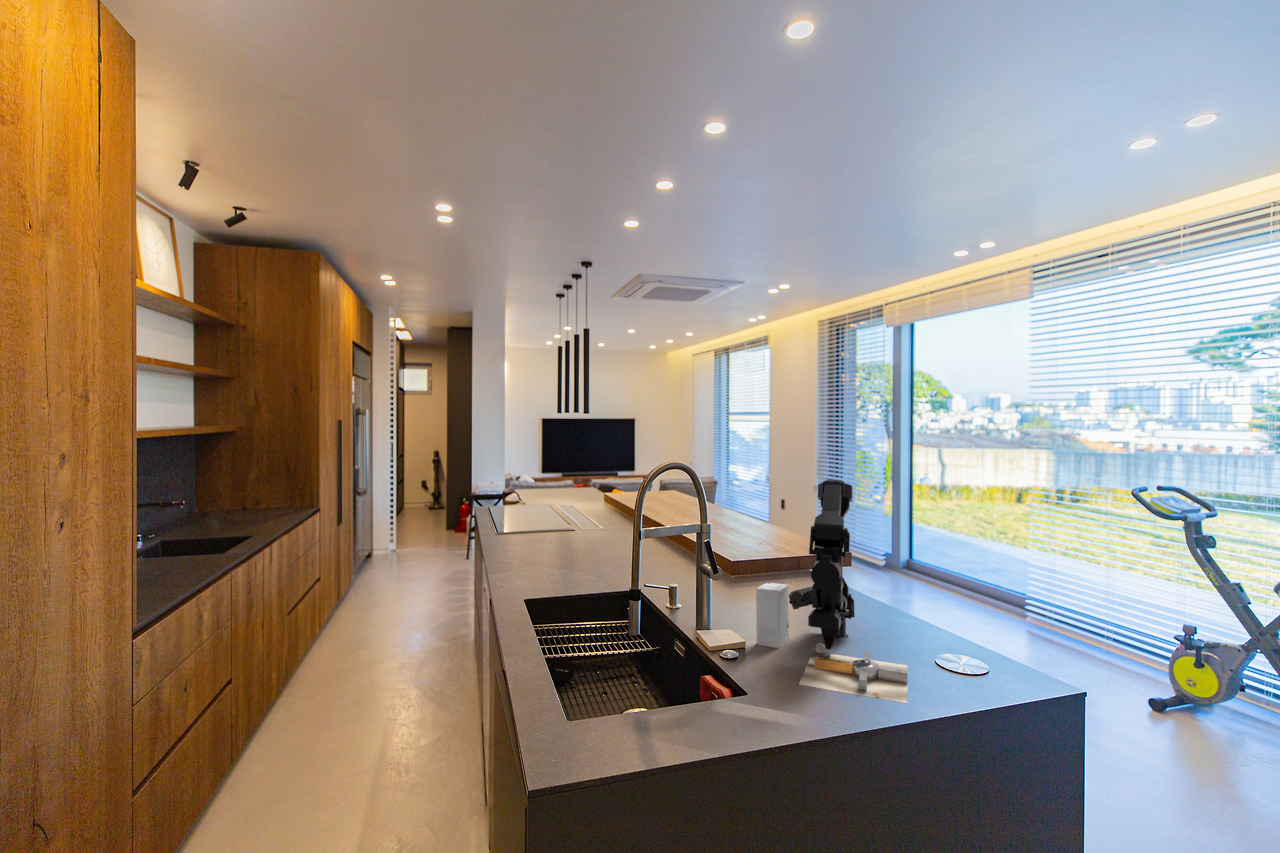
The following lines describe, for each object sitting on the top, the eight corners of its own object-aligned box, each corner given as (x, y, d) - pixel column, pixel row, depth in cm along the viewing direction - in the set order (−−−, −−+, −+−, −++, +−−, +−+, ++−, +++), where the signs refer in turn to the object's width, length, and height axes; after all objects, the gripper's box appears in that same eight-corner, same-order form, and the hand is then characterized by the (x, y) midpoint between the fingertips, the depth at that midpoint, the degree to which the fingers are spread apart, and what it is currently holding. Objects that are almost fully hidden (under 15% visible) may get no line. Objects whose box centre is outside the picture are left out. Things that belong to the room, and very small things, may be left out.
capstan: (819, 655, 136) (820, 641, 136) (907, 668, 129) (907, 654, 129) (809, 682, 121) (809, 666, 122) (907, 699, 114) (907, 682, 114)
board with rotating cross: (813, 657, 139) (813, 639, 139) (907, 672, 130) (907, 653, 130) (798, 691, 120) (798, 670, 120) (907, 711, 112) (907, 688, 112)
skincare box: (779, 654, 140) (780, 591, 140) (754, 650, 143) (755, 588, 143) (789, 643, 148) (789, 583, 148) (765, 639, 151) (766, 580, 151)
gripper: (798, 566, 144) (798, 630, 144) (784, 584, 127) (783, 657, 127) (847, 570, 140) (847, 637, 140) (838, 590, 123) (838, 666, 123)
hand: (828, 648), depth 133 cm, fingers closed
